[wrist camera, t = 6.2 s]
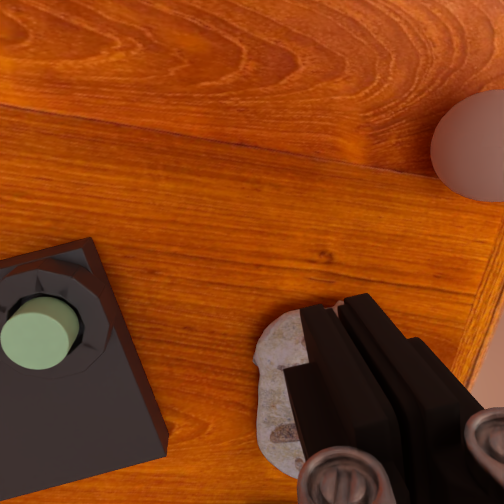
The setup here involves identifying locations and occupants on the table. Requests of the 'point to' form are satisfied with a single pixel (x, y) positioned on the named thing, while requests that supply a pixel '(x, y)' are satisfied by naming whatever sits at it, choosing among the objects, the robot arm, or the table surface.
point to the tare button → (40, 333)
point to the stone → (280, 391)
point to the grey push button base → (73, 381)
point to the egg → (472, 147)
